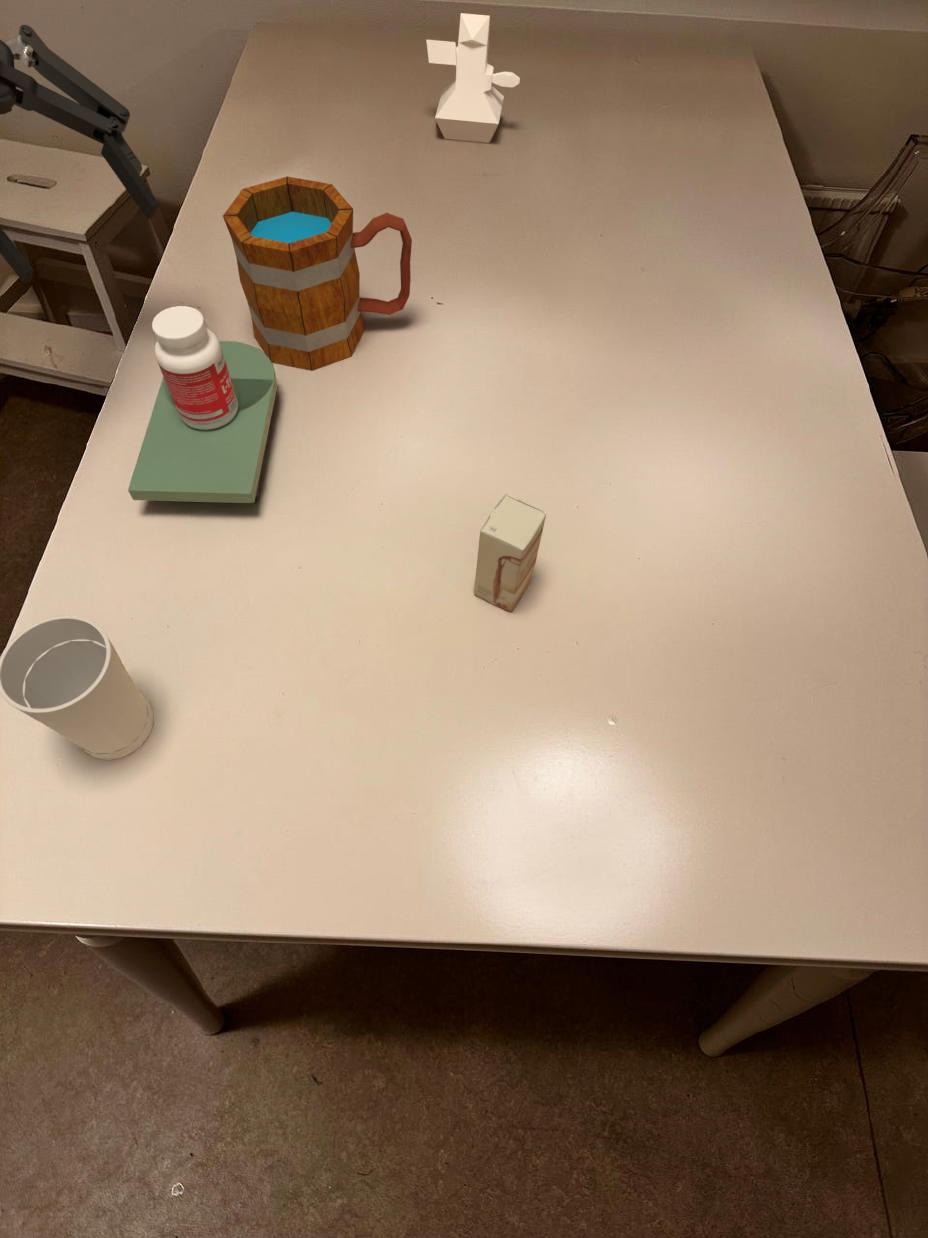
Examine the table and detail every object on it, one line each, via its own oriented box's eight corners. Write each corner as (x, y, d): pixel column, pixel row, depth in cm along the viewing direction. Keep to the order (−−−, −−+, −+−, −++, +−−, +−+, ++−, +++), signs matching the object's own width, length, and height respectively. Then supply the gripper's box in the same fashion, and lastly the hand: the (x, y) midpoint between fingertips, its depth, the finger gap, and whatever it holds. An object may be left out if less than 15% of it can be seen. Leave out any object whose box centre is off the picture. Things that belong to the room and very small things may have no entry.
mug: (253, 374, 86) (220, 255, 74) (254, 300, 93) (223, 179, 80) (420, 362, 88) (417, 244, 75) (409, 290, 95) (404, 170, 82)
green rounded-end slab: (259, 518, 76) (250, 493, 72) (141, 515, 76) (127, 490, 72) (288, 370, 87) (281, 342, 84) (185, 367, 87) (174, 339, 83)
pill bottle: (244, 424, 77) (216, 336, 67) (184, 438, 76) (147, 349, 66) (233, 384, 80) (205, 294, 70) (176, 396, 79) (139, 306, 69)
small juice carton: (512, 614, 71) (522, 553, 62) (472, 594, 72) (476, 531, 63) (536, 575, 73) (549, 511, 65) (497, 556, 74) (504, 491, 66)
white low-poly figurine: (512, 148, 113) (521, 42, 101) (421, 139, 113) (419, 33, 101) (517, 120, 117) (526, 15, 105) (429, 111, 117) (428, 6, 106)
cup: (178, 736, 64) (127, 675, 53) (87, 787, 61) (15, 733, 51) (142, 667, 67) (87, 597, 57) (54, 713, 65) (-19, 648, 54)
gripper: (40, -20, 69) (190, 204, 77) (-236, 73, 59) (-30, 319, 67) (47, -79, 63) (210, 171, 71) (-260, 13, 53) (-30, 292, 61)
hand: (94, 243), depth 69 cm, fingers open, 13 cm apart
